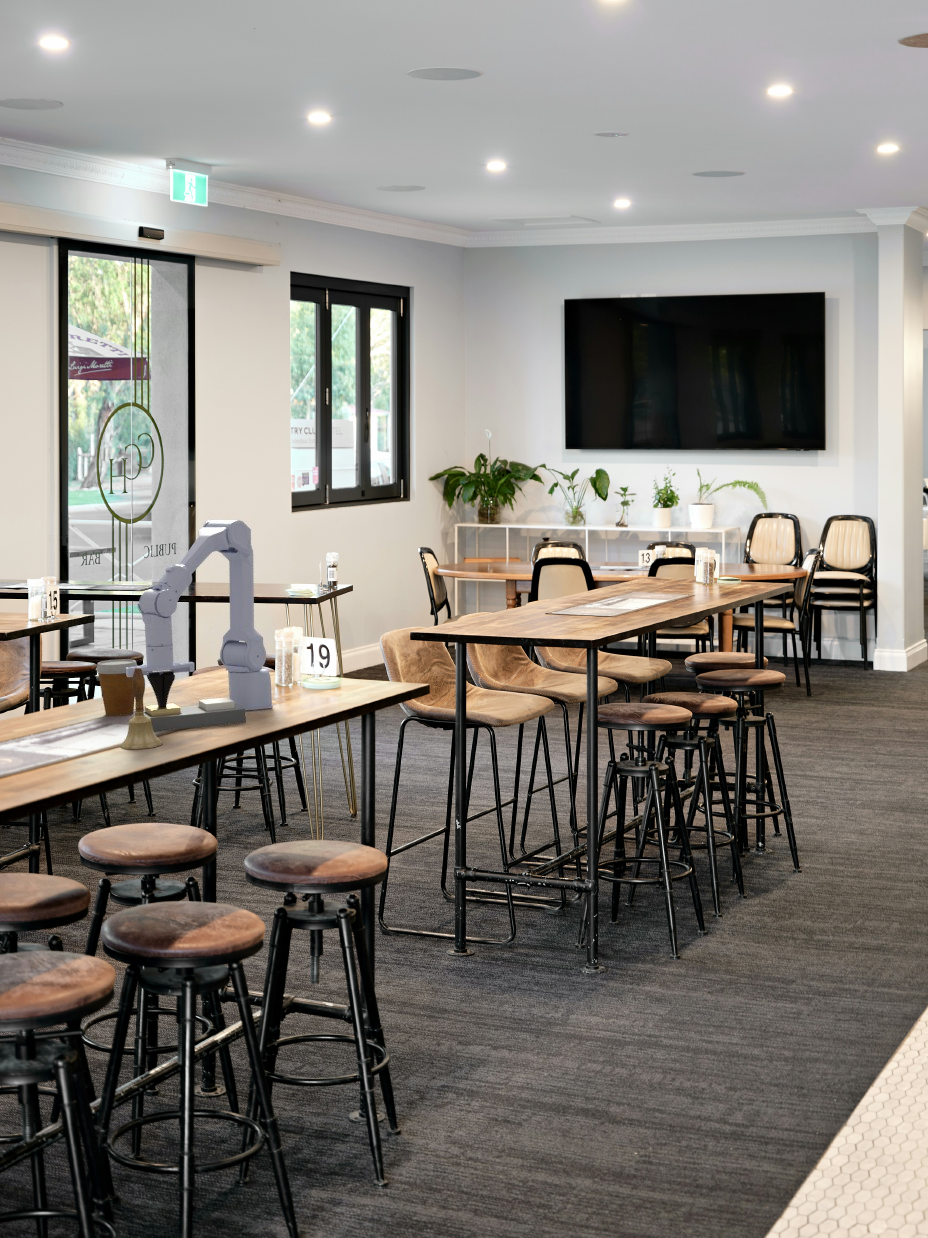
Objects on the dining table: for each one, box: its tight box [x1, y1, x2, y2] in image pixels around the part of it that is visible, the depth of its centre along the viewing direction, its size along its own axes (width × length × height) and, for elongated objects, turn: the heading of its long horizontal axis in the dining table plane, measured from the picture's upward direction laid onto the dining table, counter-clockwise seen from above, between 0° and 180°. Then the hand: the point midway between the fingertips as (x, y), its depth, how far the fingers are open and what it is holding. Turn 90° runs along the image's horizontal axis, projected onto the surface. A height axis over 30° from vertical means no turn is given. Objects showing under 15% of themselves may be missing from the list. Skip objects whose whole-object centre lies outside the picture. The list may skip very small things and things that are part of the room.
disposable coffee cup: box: [95, 658, 138, 717], centre depth 338 cm, size 10×10×12 cm
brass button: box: [144, 702, 181, 717], centre depth 321 cm, size 6×6×3 cm
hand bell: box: [120, 668, 163, 750], centre depth 299 cm, size 8×8×16 cm
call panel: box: [133, 703, 247, 733], centre depth 324 cm, size 22×11×3 cm, turn 115°
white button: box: [198, 696, 234, 711], centre depth 326 cm, size 6×6×3 cm
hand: (162, 707), depth 321 cm, fingers closed, pressing on brass button
